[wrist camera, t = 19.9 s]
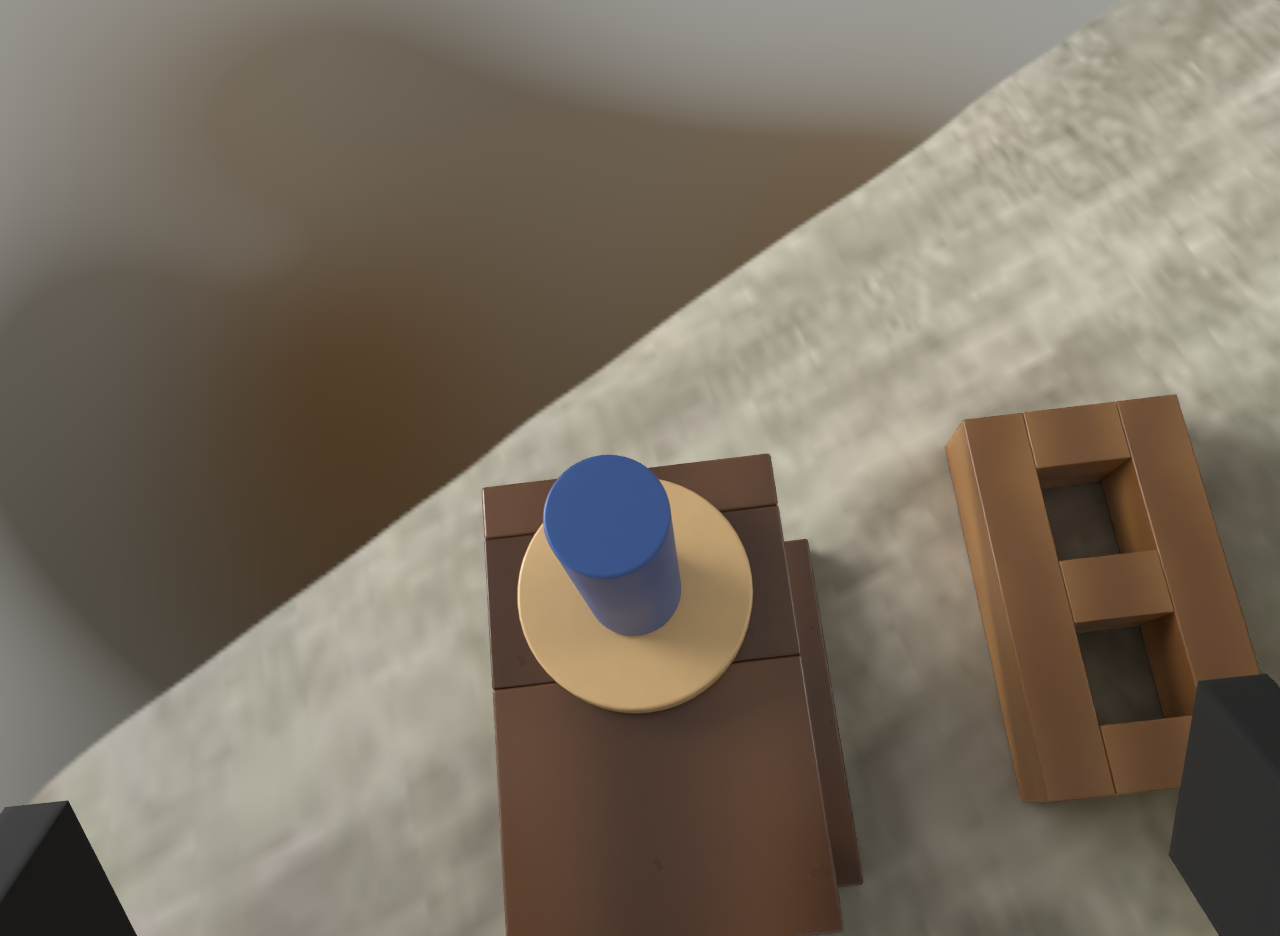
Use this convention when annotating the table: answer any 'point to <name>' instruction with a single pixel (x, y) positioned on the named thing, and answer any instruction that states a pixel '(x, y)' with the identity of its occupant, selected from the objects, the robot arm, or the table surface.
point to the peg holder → (1095, 588)
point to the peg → (633, 588)
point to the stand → (674, 757)
